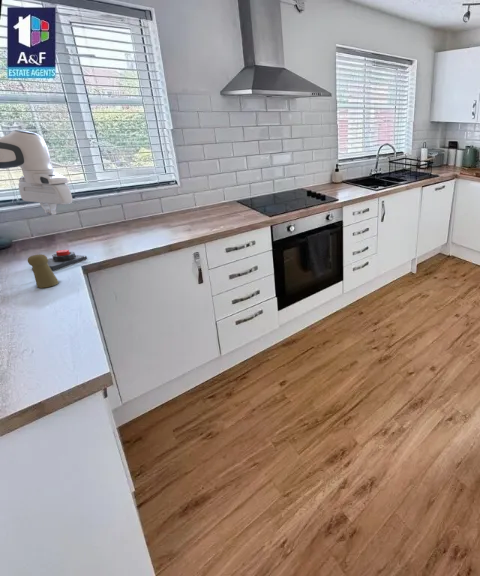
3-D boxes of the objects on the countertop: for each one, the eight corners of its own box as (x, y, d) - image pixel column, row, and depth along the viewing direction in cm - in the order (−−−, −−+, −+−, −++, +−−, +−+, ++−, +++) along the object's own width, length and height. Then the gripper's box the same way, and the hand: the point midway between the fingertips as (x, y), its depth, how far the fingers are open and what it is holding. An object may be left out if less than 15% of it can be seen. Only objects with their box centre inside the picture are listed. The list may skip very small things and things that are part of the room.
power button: (62, 256, 147) (61, 252, 146) (54, 256, 148) (53, 251, 147) (72, 254, 151) (71, 250, 150) (64, 253, 151) (63, 249, 151)
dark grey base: (54, 274, 142) (50, 261, 140) (33, 271, 144) (29, 259, 142) (88, 263, 155) (85, 251, 153) (68, 260, 156) (65, 249, 155)
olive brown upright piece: (46, 288, 129) (34, 259, 124) (32, 287, 130) (19, 257, 125) (63, 281, 134) (51, 253, 130) (49, 280, 135) (37, 252, 131)
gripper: (8, 176, 137) (21, 213, 142) (53, 180, 133) (64, 218, 138) (27, 175, 143) (38, 211, 148) (70, 178, 139) (80, 215, 144)
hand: (51, 214), depth 143 cm, fingers closed
